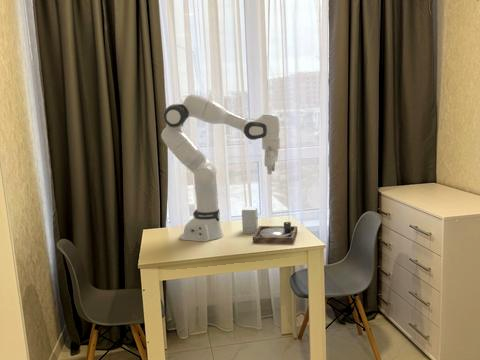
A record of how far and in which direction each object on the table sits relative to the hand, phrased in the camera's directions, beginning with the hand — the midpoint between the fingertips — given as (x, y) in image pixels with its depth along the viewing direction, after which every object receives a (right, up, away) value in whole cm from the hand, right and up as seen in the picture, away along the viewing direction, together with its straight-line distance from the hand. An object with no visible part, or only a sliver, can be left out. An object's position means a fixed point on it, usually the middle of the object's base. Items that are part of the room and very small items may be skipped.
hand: (271, 172), depth 251 cm
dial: (+2, -32, -2) cm, 32 cm away
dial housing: (+2, -33, -1) cm, 33 cm away
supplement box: (-10, -31, +12) cm, 35 cm away
